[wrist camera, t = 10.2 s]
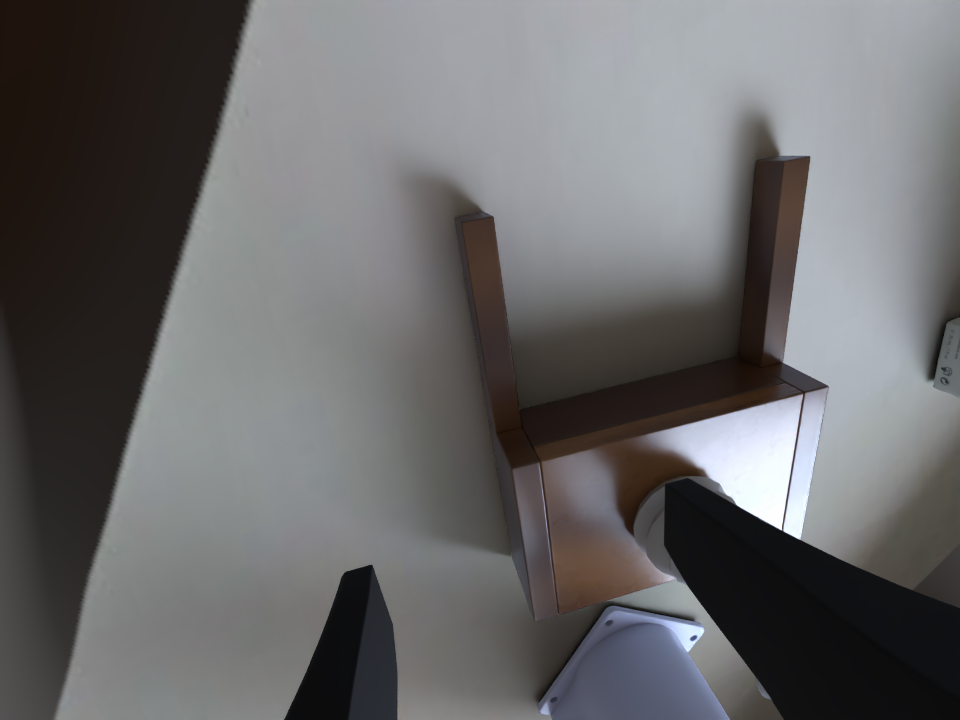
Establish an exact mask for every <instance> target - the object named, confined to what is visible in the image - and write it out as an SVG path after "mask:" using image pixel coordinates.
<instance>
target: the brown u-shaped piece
mask: <svg viewBox="0 0 960 720" xmlns="http://www.w3.org/2000/svg"><path fill="white" fill-rule="evenodd" d="M809 164H810V156H778V157H773V158H767V159H762V160H758V161H756V171H755V182H754V193H753V204H752V215H751V226H750V238H749V249H748V260H747V271H746V282H745V293H744V305H743V316H742V327H741V338H740V349H739V357H734V358H730V359H726V360H722V361H718V362H714V363H710V364H705V365H701V366H697V367H693V368H689V369H685V370H681V371H677V372H673V373H669V374H664V375H660V376H656V377H652V378H648V379H644V380H640V381H636V382H632V383H628V384H623V385H619V386H615V387H611V388H607V389H603V390H599V391H595V392H591V393H587V394H582V395H578V396H574V397H570V398H566V399H562V400H558V401H554V402H550V403H546V404H541V405H537V406H533V407H529V408H525V409H521V410H519V403H518V395H517V388H516V380H515V373H514V366H513V358H512V351H511V343H510V336H509V328H508V321H507V314H506V306H505V299H504V291H503V284H502V276H501V269H500V262H499V254H498V247H497V239H496V232H495V224H494V217H493V216H491V215H489V214H487V213H485V212H480V213H474V214H469V215H464V216H458V217H455V223H456V229H457V235H458V241H459V247H460V253H461V259H462V265H463V271H464V277H465V283H466V288H467V294H468V300H469V306H470V312H471V318H472V324H473V330H474V336H475V342H476V348H477V354H478V360H479V366H480V372H481V378H482V383H483V389H484V395H485V401H486V407H487V413H488V417H489V425H490V431H491V436H492V442H493V448H494V454H495V460H496V466H497V472H498V478H499V484H500V490H501V496H502V502H503V508H504V514H505V520H506V526H507V531H508V537H509V543H510V549H511V555H512V559H513V562H514V565H515V568H516V571H517V574H518V577H519V580H520V582H521V585H522V588H523V591H524V594H525V597H526V600H527V603H528V605H529V608H530V611H531V614H532V617H533V620H534V621H535V622H537V621H540V620H544V619H547V618H550V617H554V616H557V615H558V614H564V613H567V612H570V611H574V610H577V609H580V608H584V607H587V606H590V605H593V604H597V603H600V602H603V601H607V600H610V599H613V598H616V597H620V596H623V595H626V594H630V593H633V592H636V591H640V590H643V589H646V588H649V587H653V586H656V585H659V584H663V583H666V582H669V581H673V580H676V578H675V577H673V576H670V575H667V574H665V573H662V572H661V571H660V570H658V569H657V568H656V567H655V566H654V565H653V564H652V562H651V561H650V560H649V558H648V557H647V554H646V553H644V552H643V551H642V550H641V549H640V548H639V546H638V545H637V544H636V542H635V538H634V528H633V526H634V520H635V516H636V513H637V511H638V508H639V505H640V503H641V502H642V501H643V500H644V498H645V497H646V496H647V495H648V493H649V492H650V491H651V490H653V489H654V488H656V487H657V486H658V485H660V484H661V483H663V482H664V481H667V480H670V479H673V478H676V477H679V476H702V477H708V478H710V479H712V480H714V481H716V482H718V483H720V485H721V486H722V488H723V490H724V491H725V493H726V495H727V496H729V497H731V498H733V500H734V501H735V503H736V505H737V506H739V507H740V508H742V509H744V510H746V511H747V512H749V513H751V514H753V515H755V516H756V517H758V518H760V519H762V520H764V521H765V522H767V523H769V524H771V525H773V526H775V527H776V528H778V529H780V530H782V531H784V532H786V533H788V534H790V535H792V536H794V537H796V538H797V539H799V540H801V535H802V529H803V524H804V518H805V513H806V507H807V502H808V497H809V491H810V486H811V480H812V475H813V469H814V464H815V459H816V453H817V448H818V442H819V437H820V431H821V426H822V421H823V415H824V410H825V404H826V399H827V393H828V388H829V387H828V386H827V385H826V384H824V383H822V382H820V381H818V380H816V379H814V378H812V377H810V376H808V375H806V374H804V373H802V372H800V371H798V370H796V369H794V368H792V367H790V366H788V365H786V364H784V363H782V362H783V358H784V351H785V343H786V336H787V328H788V321H789V313H790V306H791V298H792V291H793V283H794V276H795V269H796V261H797V254H798V246H799V239H800V231H801V224H802V216H803V209H804V201H805V194H806V186H807V179H808V172H809Z"/></svg>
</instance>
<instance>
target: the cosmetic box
mask: <svg viewBox="0 0 960 720" xmlns="http://www.w3.org/2000/svg"><path fill="white" fill-rule="evenodd" d="M933 387H934V388H936V389H938V390H940V391H943V392H946V393H948V394H951V395H953V396H956V397H958V398H960V317H959V318H956V319H954V320H951V321H949V322H948V323H947V324H946V329H945V333H944V338H943V342H942V346H941V351H940V355H939V359H938V364H937V369H936V374H935V380H934V385H933Z"/></svg>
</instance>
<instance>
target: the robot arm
mask: <svg viewBox="0 0 960 720" xmlns="http://www.w3.org/2000/svg"><path fill="white" fill-rule="evenodd" d="M664 547H665V548H666V550H667V552H668V554H669V555H670V557H671V559H672V561H673V562H674V564H675V566H676V568H677V569H678V571H679V573H680V574H681V576H682V578H683V579H684V581H685V583H686V584H687V586H688V587H689V588H690V590H691V591H692V592H693V594H694V595H695V597H696V598H697V599H698V601H699V602H700V603H701V605H702V606H703V607H704V609H705V610H706V611H707V613H708V614H709V615H710V617H711V618H712V619H713V621H714V622H715V623H716V625H717V626H718V627H719V629H720V630H721V631H722V633H723V634H724V635H725V637H726V638H727V639H728V641H729V642H730V643H731V644H732V646H733V647H734V648H735V650H736V651H737V652H738V654H739V655H740V656H741V658H742V659H743V660H744V662H745V663H746V664H747V666H748V667H749V668H750V670H751V671H752V672H753V674H754V675H755V676H756V678H757V679H758V681H759V682H760V684H761V685H762V686H763V688H764V689H765V691H766V692H767V694H768V695H769V697H770V698H771V700H772V701H773V703H774V704H775V706H776V708H777V709H778V711H779V712H780V714H781V716H782V717H783V719H784V720H960V608H958V607H955V606H952V605H950V604H947V603H944V602H942V601H939V600H936V599H934V598H931V597H928V596H925V595H923V594H920V593H917V592H915V591H913V590H910V589H907V588H905V587H902V586H900V585H897V584H895V583H893V582H890V581H888V580H886V579H883V578H881V577H879V576H876V575H874V574H872V573H869V572H867V571H865V570H862V569H860V568H858V567H855V566H853V565H851V564H849V563H847V562H844V561H842V560H840V559H838V558H836V557H834V556H832V555H830V554H828V553H826V552H824V551H822V550H819V549H817V548H815V547H813V546H811V545H809V544H807V543H805V542H803V541H801V540H799V539H797V538H796V537H794V536H792V535H790V534H788V533H786V532H784V531H782V530H780V529H778V528H776V527H775V526H773V525H771V524H769V523H767V522H765V521H764V520H762V519H760V518H758V517H756V516H755V515H753V514H751V513H749V512H747V511H746V510H744V509H742V508H740V507H739V506H737V505H735V504H733V503H732V502H730V501H728V500H726V499H725V498H723V497H721V496H719V495H718V494H716V493H714V492H712V491H711V490H709V489H707V488H705V487H704V486H702V485H700V484H698V483H697V482H695V481H693V480H691V479H689V478H685V479H681V480H678V481H674V482H670V483H667V484H665V507H664ZM703 632H704V628H703V626H702V625H701V623H699V622H694V621H689V620H683V619H678V618H673V617H668V616H663V615H658V614H653V613H648V612H643V611H638V610H633V609H628V608H623V607H618V606H610V607H608V608H606V609H605V610H604V612H603V613H602V615H601V616H600V618H599V619H598V620H597V622H596V623H595V625H594V626H593V627H592V629H591V630H590V632H589V633H588V635H587V636H586V637H585V639H584V640H583V642H582V643H581V644H580V646H579V647H578V649H577V650H576V652H575V653H574V654H573V656H572V657H571V659H570V660H569V661H568V663H567V664H566V666H565V667H564V669H563V670H562V671H561V673H560V674H559V676H558V677H557V678H556V680H555V681H554V683H553V684H552V686H551V687H550V688H549V690H548V691H547V693H546V694H545V695H544V697H543V698H542V700H541V701H540V703H539V704H538V709H539V713H540V714H543V715H551V717H552V720H730V719H729V717H728V716H727V714H726V712H725V711H724V709H723V708H722V706H721V705H720V703H719V701H718V700H717V698H716V697H715V695H714V693H713V692H712V690H711V689H710V687H709V686H708V684H707V682H706V681H705V679H704V678H703V676H702V675H701V673H700V671H699V670H698V668H697V667H696V665H695V663H694V662H693V660H692V659H691V657H690V656H689V654H688V651H689V650H690V649H691V648H692V646H693V645H694V644H695V643H696V641H697V640H698V639H699V638H700V636H701V635H702V634H703ZM284 720H397V662H396V651H395V641H394V631H393V623H392V621H391V618H390V615H389V612H388V609H387V606H386V603H385V600H384V597H383V594H382V591H381V589H380V586H379V583H378V580H377V577H376V574H375V571H374V568H373V565H369V566H365V567H361V568H358V569H354V570H351V571H347V572H345V573H344V574H343V576H342V577H341V581H340V584H339V587H338V590H337V593H336V596H335V599H334V602H333V605H332V608H331V611H330V613H329V616H328V619H327V621H326V624H325V627H324V629H323V632H322V635H321V637H320V640H319V642H318V644H317V647H316V649H315V652H314V654H313V657H312V659H311V661H310V664H309V666H308V669H307V671H306V673H305V676H304V678H303V680H302V682H301V685H300V687H299V689H298V691H297V693H296V695H295V698H294V700H293V702H292V704H291V706H290V708H289V710H288V713H287V715H286V717H285V719H284Z"/></svg>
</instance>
